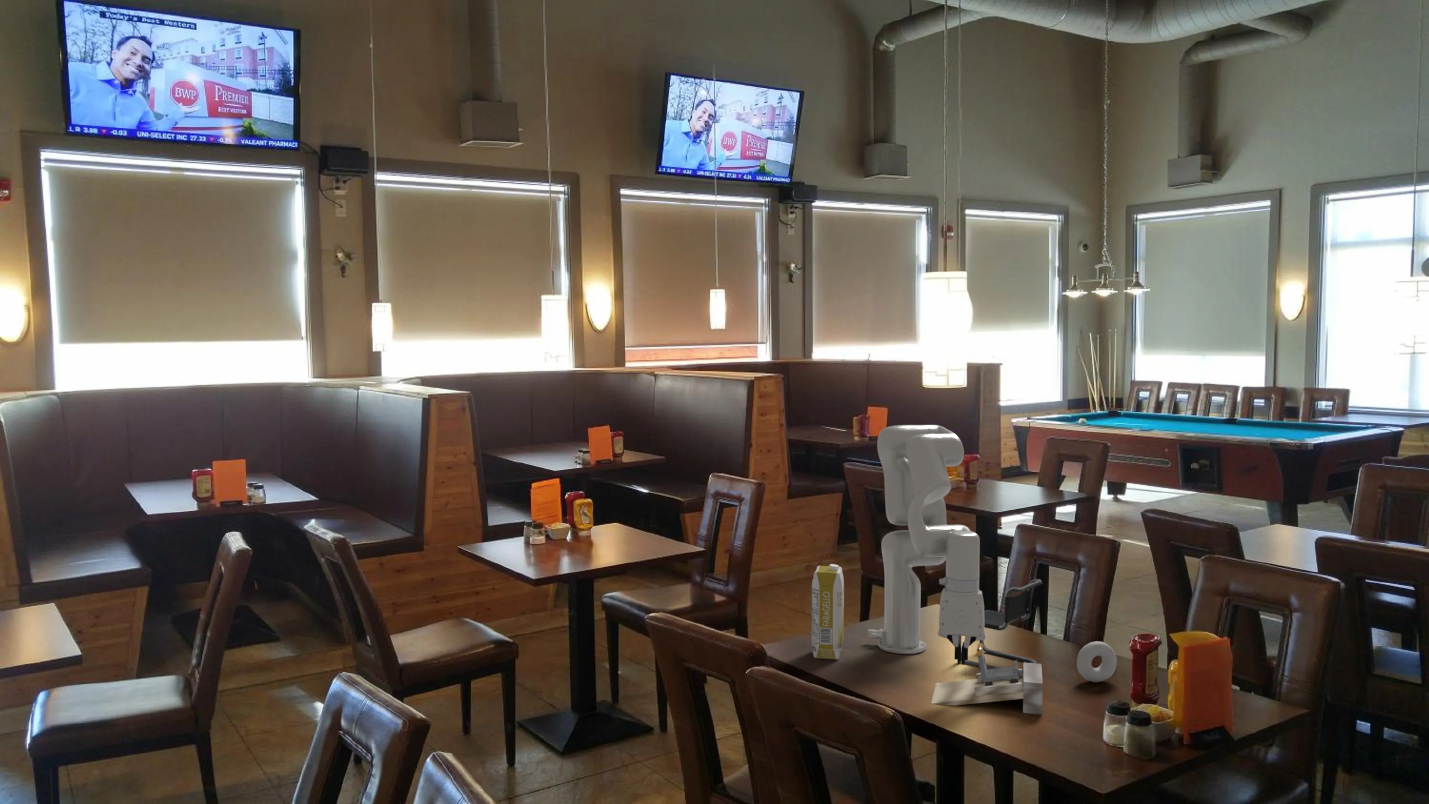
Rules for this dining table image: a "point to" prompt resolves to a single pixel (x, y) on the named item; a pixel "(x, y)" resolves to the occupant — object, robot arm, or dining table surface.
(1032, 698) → the dock
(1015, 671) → the trolley
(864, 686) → the dining table surface
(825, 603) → the juice carton
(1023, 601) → the chair
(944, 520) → the robot arm
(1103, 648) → the donut
